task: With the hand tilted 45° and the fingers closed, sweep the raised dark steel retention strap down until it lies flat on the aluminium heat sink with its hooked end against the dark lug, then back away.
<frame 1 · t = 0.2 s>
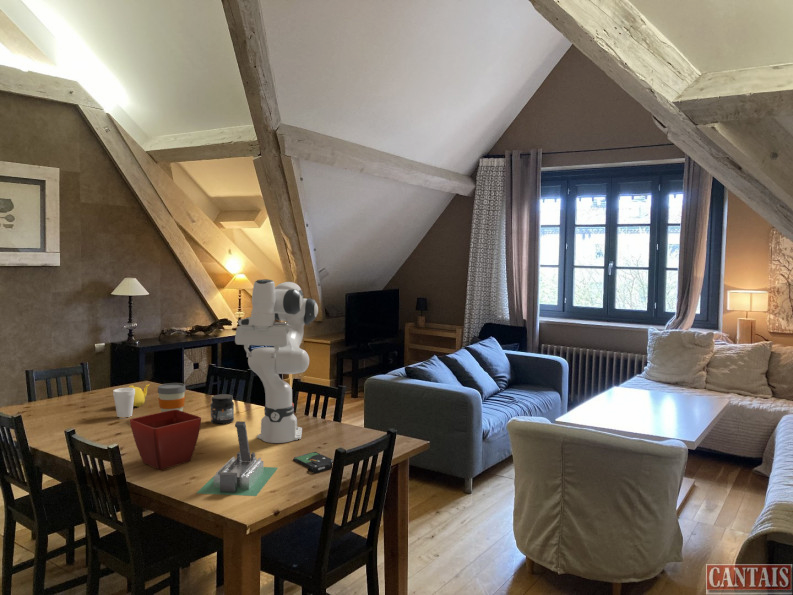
hand: (261, 357, 233), 39 cm above the table, tool pointing down, fingers open, 8 cm apart
circuit board: (239, 482, 209), on the table
retention strap: (242, 442, 212), point 13 cm above the table, hinge at 70.0°
foam cup: (124, 417, 290), on the table
reusable coffee cup: (172, 416, 291), on the table
supplement container: (222, 422, 283), on the table
plant pot: (166, 462, 229), on the table
heat sink: (239, 479, 209), resting on circuit board
disk drive: (315, 466, 227), on the table
teapot: (133, 406, 309), on the table
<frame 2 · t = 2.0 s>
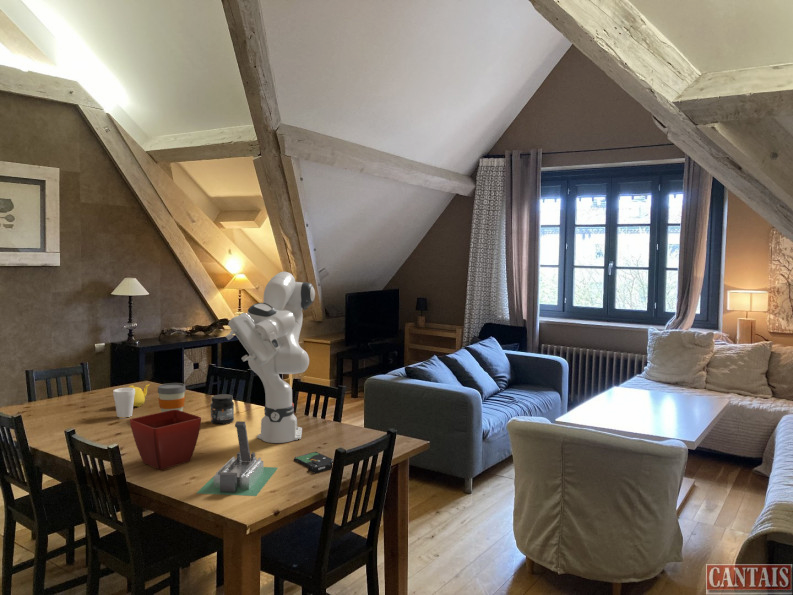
hand: (235, 348, 214), 45 cm above the table, tool tilted 75°, fingers open, 8 cm apart
nothing on the table moved.
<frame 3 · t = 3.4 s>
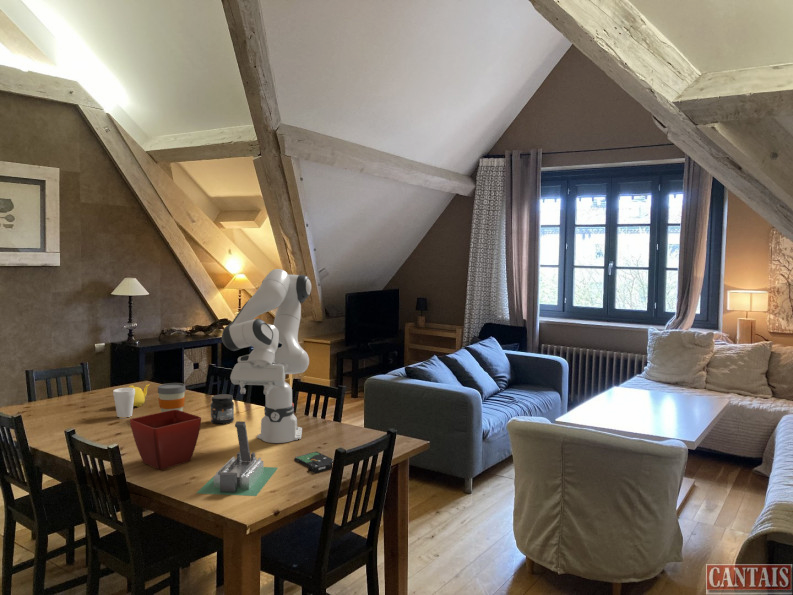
hand: (254, 393, 223), 27 cm above the table, tool tilted 45°, fingers open, 7 cm apart
nothing on the table moved.
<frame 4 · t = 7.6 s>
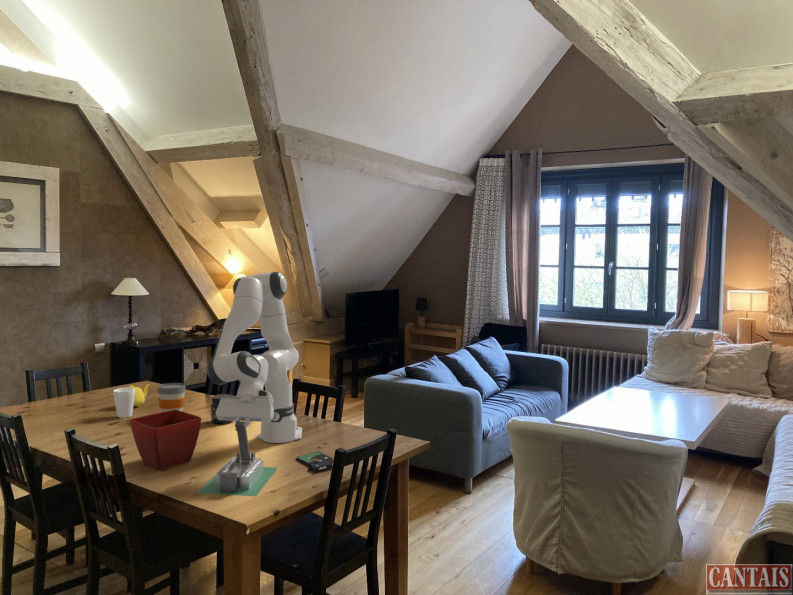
hand: (239, 430, 212), 17 cm above the table, tool tilted 45°, fingers closed, pressing on retention strap
retention strap: (242, 442, 212), point 13 cm above the table, hinge at 69.9°, touching gripper
everything else where it was.
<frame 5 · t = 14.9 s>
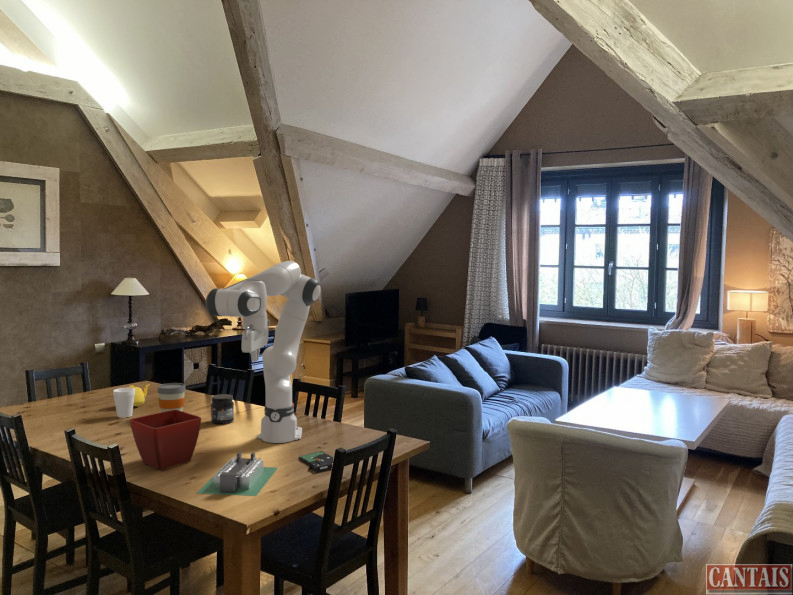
hand: (255, 360, 224), 39 cm above the table, tool pointing down, fingers closed
retention strap: (238, 469, 208), point 5 cm above the table, hinge at -0.4°, touching heat sink
at the end: retention strap at +0° (first picture: +70°); the gripper is holding nothing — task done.
